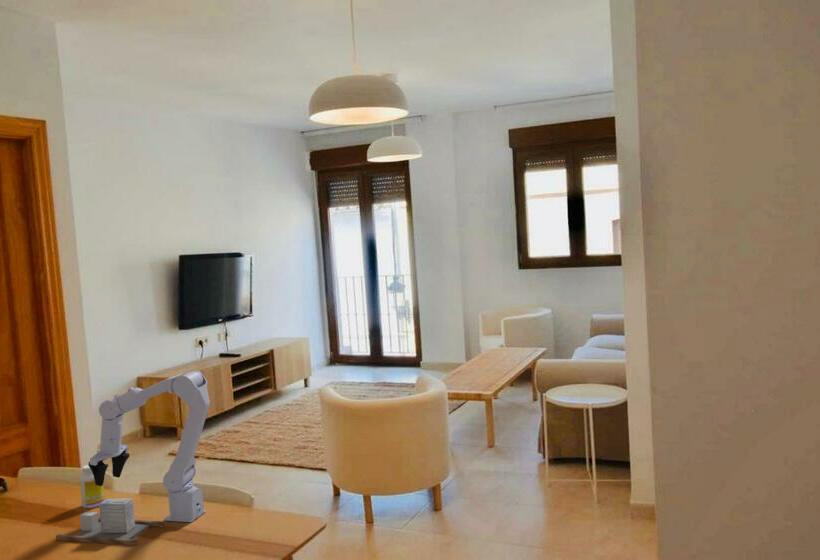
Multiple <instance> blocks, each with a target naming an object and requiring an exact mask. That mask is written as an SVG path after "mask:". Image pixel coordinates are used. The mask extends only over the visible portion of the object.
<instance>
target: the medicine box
mask: <svg viewBox="0 0 820 560" xmlns="http://www.w3.org/2000/svg"><path fill="white" fill-rule="evenodd" d="M98 507H99V518H100V520H101V532H102V533H128V532H129V531H130V530H131V529H132V528H134V527H135V521H134V520H135V513H134V501H133V498H132V497H131V498H130V497H128V498H122V497H121V498H119V497H118V498H117V497H116V498H107V499H105V501H104V502H102V503H101V504H100V505H99V506H98Z"/></svg>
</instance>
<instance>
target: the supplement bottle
mask: <svg viewBox="0 0 820 560" xmlns="http://www.w3.org/2000/svg"><path fill="white" fill-rule="evenodd" d="M82 472H83V474H81V475H80V477H79V482H80V483H79V484H80V493H81V505H82V507H83V509H93V508H97V506H98V507H99V505H100V504H101V503H102V502H104V501H105V500H106V499H105V498H106V497H105V487H104V486H105V485H104V483H103V485H102V486H98V485H95V480H94V476H93V473H92V471H91V469H90V467H89V466H88V464H86V465H83V466H82Z"/></svg>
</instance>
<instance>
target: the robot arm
mask: <svg viewBox="0 0 820 560" xmlns="http://www.w3.org/2000/svg"><path fill="white" fill-rule="evenodd" d="M208 381H209V380H207V379H206V377H205V375H204V374H203V373H202V372H201V371H199V370H194V369H193V370H191V371H188V372H184V373H183V372H182V373H180V374H176V375H173V376H170V377H167V378H166V379H163V380H161V381H158V382H157V383H155V384H152V385H150V386H147V387H146V388H144V389H143V388H140V387H135V388H134V387H129V388H128V389H127V391H125V392H124V393H121V394H119V393H118V394H115V395H114V396H113V397H112V398H111V397H110V398H109V399H106V400H104V401H103V402H102V403H101V404H100V405H99V407H98V413H99V416H100V417H101V429H100V432H101V433H100V443H99V448H98V449H97V450H96V453H95V454H94V455H93V456H92V457H90V458H89V461H88V463H87V465H88V466H89V467H90V469H91V471H92V473H93V476H94V480H95V485H98V486H102V485H103V484H104V482H105V475H106V471H107V469H108V467H109V464H108V463H105V462H104V461H106V460H108V459H111V464H112V470H111V471H112V473H111V474H112V477H114V478H118V479H119V478H120V477H121V475H122V472H123V469H124V467H125V464H126V463H127V460H128V459H129V457H130V453H128V452H129V447H130V446H129V444H123V443H122V434H123V433H122V432H123V431H122V430H123V419H124V415H125V413H128V412H131V411H133V410H135V409H139V408H140V407H142V406H145V404H146V402H147V401H148V399H151V398H153V397H156V396H158V395H161V394H163V393H165V392H168V393H169V394H175V395H176V396H177V397H178V398H179V399H181V400H182V401H183V402H184V403H186V404H187V406H188V407H189V411H188V414H187V418H186V421H185V425H184V427H183V431H182V435H181V439H180V442H179V445H178V448H177V451H176V454H175V458H174V459H173V460H172V463H171V464H170V466H169V468H168V470H167V472H165V474H164V476H163V478H162V483H163V487H164V488H165V489H166V490H167V493H168V507H169V509H168V510H169V515H167V516H165V518H164V519H163V522H164V521H165V522H181V523H182V522H183V523H192V522H194V521H195V520H196V519H198V518H200V516H201V515H203V514H204V513H206V510H205V507H204V493H203V490H202V489H201V488H200V487H196V486H195V485H194V482H193V479H194V477H196V473H197V470H196V462H197V460H196V459H195V456H196V452H197V448H198V445H199V444H200V443H199V442H200V438H201V435H202V432H203V428H204V426H205V422H206V419H207V415H208V412H209V409H210V405H211V402H210V396H209V391H208Z"/></svg>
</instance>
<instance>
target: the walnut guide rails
mask: <svg viewBox="0 0 820 560" xmlns="http://www.w3.org/2000/svg"><path fill="white" fill-rule="evenodd" d="M134 521H135V524H141V525H149V527H151V526H162V527H164V521H160V520H142V519H141V520H140V519H134ZM98 522H101V520H100V517H98ZM55 541H65V542H79V543H80V542H81V543H94V544H95V543H96V544H110V545H123V546H124V545H127V546H136V545H138V543H139V542H138V541H139V540H138V539H136V538H133V539H123V538H107V537H92V536H76V534H73V535H71V534H57V535H56V536H55Z"/></svg>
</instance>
